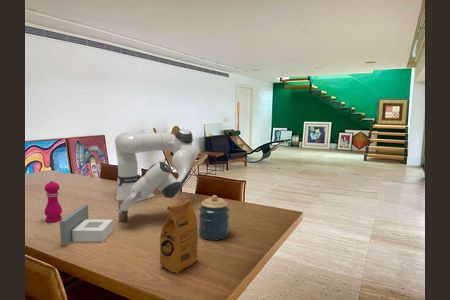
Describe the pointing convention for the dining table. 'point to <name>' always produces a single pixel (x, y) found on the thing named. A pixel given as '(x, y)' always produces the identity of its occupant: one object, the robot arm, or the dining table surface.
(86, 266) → the dining table surface
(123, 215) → the walnut dowel
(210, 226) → the canister
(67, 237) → the slate backstop wall
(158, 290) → the dining table surface
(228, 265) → the dining table surface
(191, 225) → the coffee package
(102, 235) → the white socket block
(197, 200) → the dining table surface
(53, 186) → the pepper mill
